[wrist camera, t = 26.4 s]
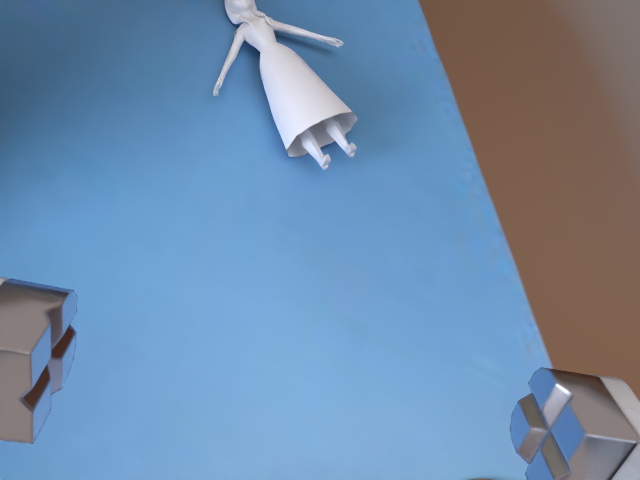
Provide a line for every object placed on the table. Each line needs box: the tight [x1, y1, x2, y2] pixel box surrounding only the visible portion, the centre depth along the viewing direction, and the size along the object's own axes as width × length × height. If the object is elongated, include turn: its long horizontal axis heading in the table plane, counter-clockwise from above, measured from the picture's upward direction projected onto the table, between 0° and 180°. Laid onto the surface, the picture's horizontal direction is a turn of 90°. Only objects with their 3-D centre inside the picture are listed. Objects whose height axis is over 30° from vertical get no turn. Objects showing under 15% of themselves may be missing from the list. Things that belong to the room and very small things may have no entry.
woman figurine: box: [213, 0, 358, 170], centre depth 44 cm, size 12×4×18 cm
